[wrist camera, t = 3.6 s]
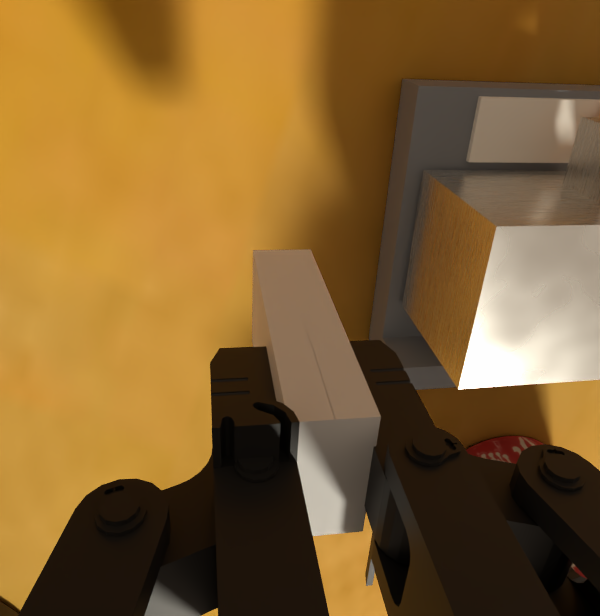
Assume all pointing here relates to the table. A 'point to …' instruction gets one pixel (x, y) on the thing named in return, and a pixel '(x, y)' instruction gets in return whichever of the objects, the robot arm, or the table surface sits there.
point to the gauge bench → (461, 156)
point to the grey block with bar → (511, 270)
